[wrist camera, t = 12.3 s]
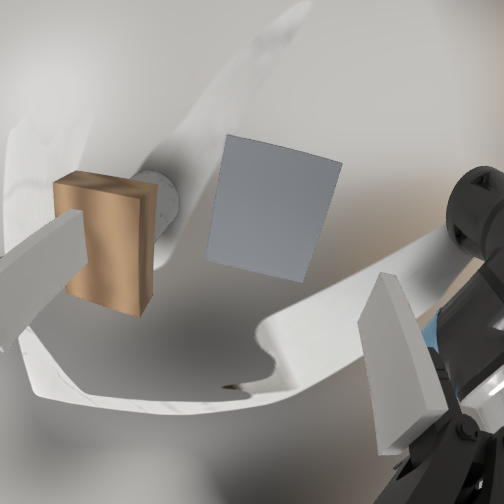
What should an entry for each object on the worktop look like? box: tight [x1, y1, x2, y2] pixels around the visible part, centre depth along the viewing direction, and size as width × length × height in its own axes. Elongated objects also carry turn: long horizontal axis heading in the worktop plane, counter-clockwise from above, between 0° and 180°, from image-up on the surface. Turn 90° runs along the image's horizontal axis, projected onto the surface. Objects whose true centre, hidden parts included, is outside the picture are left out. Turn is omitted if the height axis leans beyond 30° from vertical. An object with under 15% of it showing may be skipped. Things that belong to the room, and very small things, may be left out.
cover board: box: [53, 171, 158, 318], centre depth 32 cm, size 11×15×4 cm
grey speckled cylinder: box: [130, 171, 180, 243], centre depth 39 cm, size 10×10×12 cm
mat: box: [205, 135, 342, 283], centre depth 44 cm, size 16×20×1 cm
